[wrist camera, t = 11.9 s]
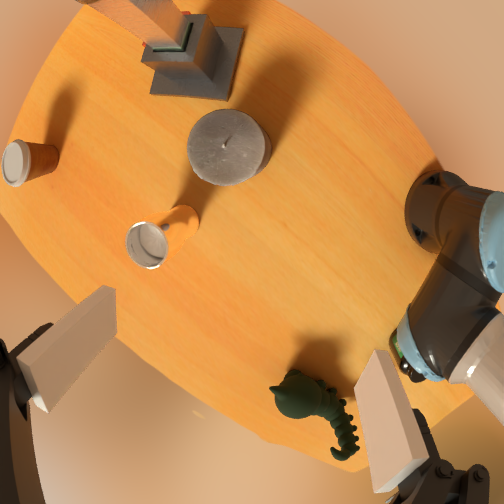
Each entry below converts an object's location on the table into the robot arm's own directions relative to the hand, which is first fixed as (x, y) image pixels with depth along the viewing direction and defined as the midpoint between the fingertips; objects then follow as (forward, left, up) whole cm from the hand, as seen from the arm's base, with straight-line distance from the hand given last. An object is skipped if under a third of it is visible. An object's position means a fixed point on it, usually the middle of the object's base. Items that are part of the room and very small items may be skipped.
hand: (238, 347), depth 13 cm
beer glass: (+15, +5, -37) cm, 40 cm away
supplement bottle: (-33, +19, -37) cm, 53 cm away
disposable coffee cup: (+50, -3, -37) cm, 62 cm away
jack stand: (+18, -24, -37) cm, 47 cm away
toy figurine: (-18, +36, -37) cm, 55 cm away
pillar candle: (+7, -9, -37) cm, 39 cm away
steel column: (+18, -24, -29) cm, 41 cm away
